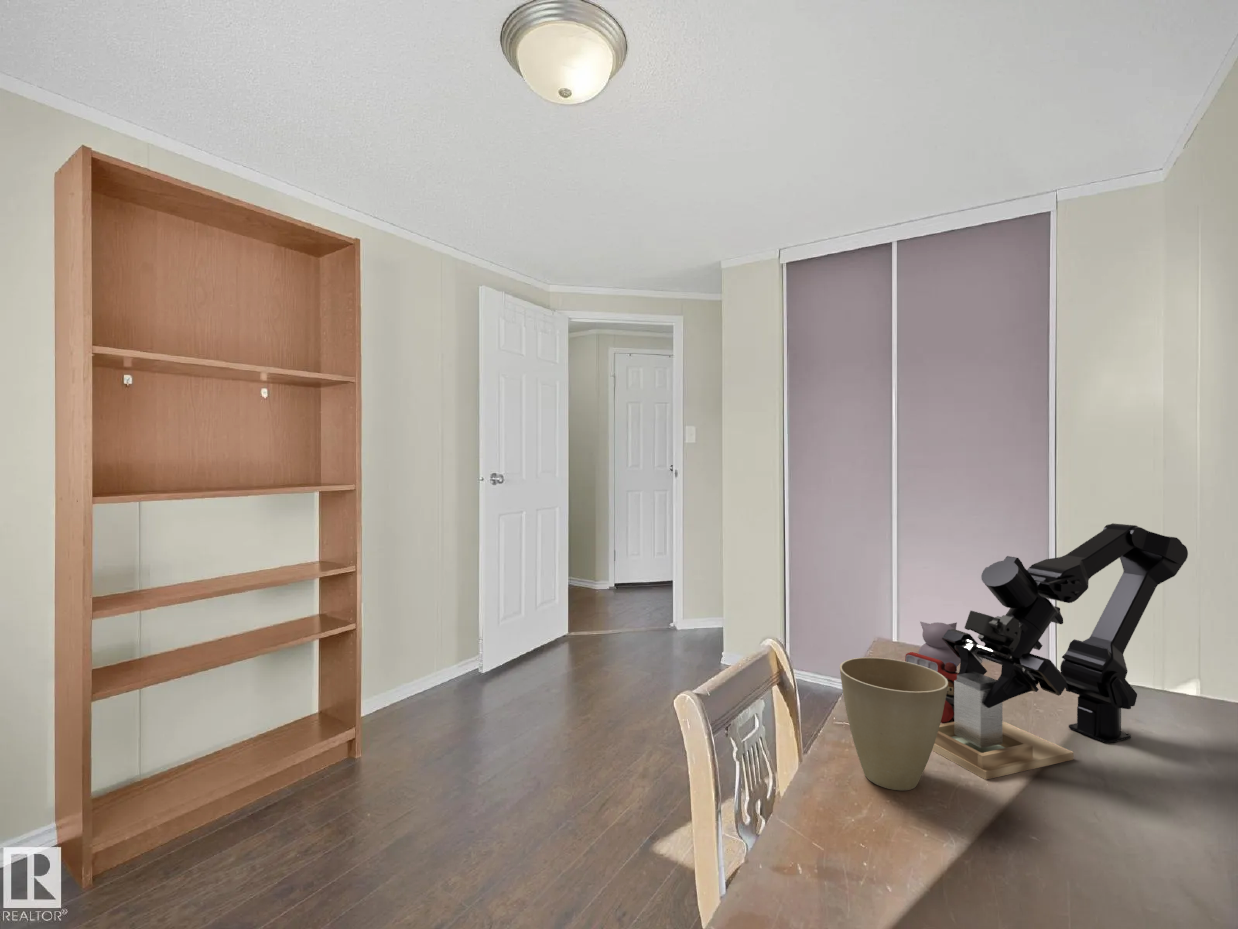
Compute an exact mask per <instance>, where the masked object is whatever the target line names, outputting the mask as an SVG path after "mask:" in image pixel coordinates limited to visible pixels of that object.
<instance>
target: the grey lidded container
mask: <svg viewBox="0 0 1238 929" xmlns="http://www.w3.org/2000/svg"><path fill="white" fill-rule="evenodd" d="M997 680H998V679H995V678H992V677H990V676H987V675H985V674H984V675H982V674H980V673H977V672H972V673H965V674H957V680H954V715H953V719H954V721H953V722H954V734H955V735H957V736H959V737H961V738H962V739H964V740H966V741H968V742H970V743H972V744H974V745H976V746H978V747H980V748H983V747H989V746H994V745H1000V744H1003V735H1002V722H1003V702H1002V703H1000V704H997V705H995V706H993V707H991V708H987V707H986V706H985V705H984V701H985V699H986V697H987V695H988V694H989V692H990V690H991V689H992V687H993V686H994V684H995V683H996V681H997Z"/></svg>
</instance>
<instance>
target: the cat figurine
mask: <svg viewBox="0 0 1238 929" xmlns="http://www.w3.org/2000/svg"><path fill="white" fill-rule="evenodd" d="M919 624H920V626H921V628H922V640H923V641H924V642H925V643H923V645H921V646H920V647H919V650H918V654H921V655H924V656H928V657H931V658H935V659H938V660H941V661H942V662H944V664H946V663H947V662H952V663H954V664H955V665H956V666H957V667H959V666H960V661H961V660H960V658H959V657H957V655H956V654H955V653H954V652H953V651H952V650H951V649H950V648H949V646H948V645H947V644H946V643H945V642H944V641H943V640H942V637H943V636H944V635H945V633H946V632H947V630H949V629H955V630H957V624H958V622H952V623H945V622H932V623H928V622H924V621H919ZM946 679H947V678H946Z"/></svg>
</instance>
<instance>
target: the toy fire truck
mask: <svg viewBox="0 0 1238 929" xmlns="http://www.w3.org/2000/svg"><path fill="white" fill-rule="evenodd" d="M904 657H905V660H904V661H905V662H910V663H914V664H917V665H921V666H924V667H927V668H929V669H932V670H934V671H936V672H938V673H940V674H941V675H943V676H944V677H945V678H947V680H948V688H947V694H946V700H945V705H944V710H943V715H942V719H941V723H942V724H945V723H949V721H950V722H951V720H952V719H954V680H957V674H959V672H958V666H956V665H955V664H954V663H952V662H947V663H946V664H944V662H942V661H941V660H938V659H935V658H931V657H928V656H924V655H921V654H919V652H918V653H916V652H914V651H910V652H907V653H905V656H904Z"/></svg>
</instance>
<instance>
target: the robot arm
mask: <svg viewBox="0 0 1238 929" xmlns="http://www.w3.org/2000/svg"><path fill="white" fill-rule="evenodd" d="M1188 555H1189V552H1188V548H1187V546H1186V545H1184V544H1183V542H1182V541H1181V539H1179V538H1178V537H1176V536H1166V535H1162V534H1160V533H1156V532H1153V531H1150V530H1147V529H1145V528H1143V527H1140V526H1138V525H1136V524H1135V525H1134V524H1122V523H1114V522H1113V523H1111V524H1106V525H1105V526H1104V527H1103V530H1101V531H1100V532H1098V533H1097V534H1095V535H1094V536H1092V537H1090V538H1089V539H1088V540H1086V541H1085V542H1083V543H1082V544H1080V545H1079V546H1077V547H1076V548H1074V549H1073V550H1071V551H1070V552H1068V553H1067V554H1065V555H1062V556H1058V557H1053V558H1046V559H1043V560H1041V561H1038V562H1035V563H1033V564H1031V565H1030V566H1029V567H1028V568H1025V566H1024V564H1023V562H1022V561H1021V559H1020V558H1019V557H1017V556H1016V557H1015V556H1009V555H1007V556H1006V557H1005V558H1004V559H1003V560H999V561H997V562H994V563H992V564H990V565H989V566H986V567H985V568H984V569H983V571H982V573H981V577H980V578H981V581H982V583H983V584H984V585H985V586H986V588H987V589H988V590H989V591H990V592H991V593H992V595H993V596H994V597H995V598H996V599H997V602H999V603H1000V605H1002V606H1003V607H1004V608H1007V609H1008V611H1007V612H1006V614H1003V615H1001V616H999V615H996V616H992V615H989V614H985V613H982V612H979V611H975V610H969V614H968V617H967V620H966V622H965V624H964V627H963V628H964V630H967V631H972V632H974V633H976V634H978V636H977V638H978V640H979V641H980V642H981V643H983V644H984V645H981V644H979V643H978V641H976V640H975V639H974V637H973V636H972V634H970V633H968V632H965V631H962V630H958V629H956V630H955V629H949V630H947V632H946V633H945V635H944V636H943V637H942V640H943V641H944V642H945V643H946V644H947V645H948V646H949V648H950V649H951V650H952V651H953V652H954V653H955V654H956V655H957V657H959V658H960V660H961V661H960V664H959V671H958V673H959V674H965V673H972V672H977V673H980V674H982V675H985V674H986V673H987V672H988V670H987V669H986V667H985V666H984V665H983V664H982V663H983V661H984V660H987V661H989V662H992V663H995V664H998V665H1001V670H1000V672H1001V673H1000V675H999V677H998V679H996V680H997V681H996V683H995V684H994V686H993V687H992V689H991V690H990V692H989V694H988V695H987V697H986V699H985V701H984V705H985V706H986V707H987V708H991V707H993V706H995V705H997V704H1000V703H1002V704H1003V703H1004V702H1006V701H1009V700H1010V699H1013V698H1016V697H1017V696H1021V695H1024V694H1026V693H1029V692H1034V693H1035V692H1036V693H1038V691H1039V687H1040V688H1041V690H1043V691H1046V692H1047V693H1051V694H1053V695H1056V696H1061V695H1062V693H1063V692H1064V690H1065V691H1066V692H1068V693H1072V694H1076V695H1078V696H1077V707H1076V722H1075V723H1071V724H1068V728H1069V729H1071V730H1073V731H1075V732H1079V733H1081V734H1082V735H1085V736H1087V737H1090V738H1093V739H1095V740H1098V741H1101V742H1103V743H1104V744H1105V743H1106V744H1110V743H1115V742H1121V741H1123V740H1129V739H1131V738H1132V734H1130V733H1128V732H1124V731H1122V709H1123V710H1124V709H1125V710H1131V709H1132V707H1135V706H1136V702H1137V698H1138V693H1137V692H1136V690H1135V689H1134V688H1133V686H1131V684H1130V683H1129V682H1128V681H1127V678H1126V677H1127V675H1128V667H1127V664H1126V660H1125V657H1124V653H1125V650H1126V649H1127V647H1128V645H1129V642H1130V640H1131V638H1132V636H1133V634H1134V632H1135V631H1136V628H1137V626H1138V624H1139V623H1140V620H1141V619H1142V616H1143V614H1144V613H1145V610H1146V609H1147V607H1148V604H1149V603H1150V601H1151V598H1152V597H1153V595H1154V592H1155V591H1156V588H1157V587H1158V586H1159V585H1160V584H1163V583H1165V582H1166V581H1168V580H1169V579H1171V578H1174V577H1175V576H1176V575H1177V574H1178V572H1179V571H1180V570H1181V568H1182V567H1183V565H1184V564H1185V562H1187V559H1188ZM1118 559H1120V563H1121V567H1122V570H1123V572H1122V573H1121V576H1120V578H1119V581H1118V582H1117V584H1116V586H1115V588H1114V590H1113V591H1112V594H1111V596H1110V597H1109V600H1108V601H1107V604H1106V605H1105V607H1104V609H1103V610H1102V613H1101V615H1100V616H1099V619H1098V621H1097V623H1096V625H1095V627H1094V628H1093V630H1092V633H1091V634H1090V636H1089V638H1086V639H1085V640H1078V639H1073V640H1072V641H1070V642H1069V645H1068V648H1067V650H1066V652H1065V654H1063V655H1062V656H1061V658H1062V659H1063V660H1062V661H1061V663H1060V666H1059V669H1060V670H1059V669H1058V667H1057V666H1056V665H1055V663H1053V662H1052V660H1051V659H1048V658H1045V657H1043V656H1039V655H1037V654H1032V653H1031V652H1032V651H1033V649H1034V650H1036V651H1040V650H1041V649H1042V647H1043V644H1042V643H1041V642H1040V639H1041V638H1042V636H1043V635H1044V633H1045V632H1046V631H1047V628H1049V626H1050V624H1052V623H1053V624H1058V625H1063V624H1064V617H1063V616H1062V614H1061V608H1060V607H1058V606H1054V604H1053V603H1052V602H1051V601H1050V600H1052V601H1057V602H1063V603H1066V604H1072V603H1073V602H1074V603H1075V601H1077V600H1078V599H1079V598H1080V597H1081V596H1082V595H1084V593H1086V592H1087V590H1088V589H1089V582H1090V581H1089V580H1090V579H1091V578H1092V577H1093V576H1095V575H1096V574H1097V573H1099V572H1101V571H1102V570H1103V569H1105V568H1106V567H1108V566H1110V565H1112V563H1114V562H1115V561H1116V560H1118ZM1038 684H1039V687H1037V686H1038Z"/></svg>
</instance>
